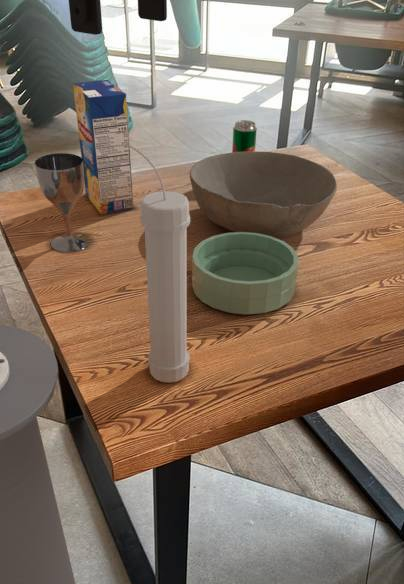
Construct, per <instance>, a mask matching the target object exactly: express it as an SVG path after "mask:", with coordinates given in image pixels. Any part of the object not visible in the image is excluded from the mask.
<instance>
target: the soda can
mask: <svg viewBox="0 0 404 584" xmlns="http://www.w3.org/2000/svg"><path fill="white" fill-rule="evenodd" d="M232 129H233V130H232V145H231V146H232V147H231V149H232V151H231V153H233V152H248V151H256V143H257V132H258V131H257V127H256V122H254V121H252V120H245V119H244V120H243V119H242V120H241V119H240V120H238V121H235V123H234V126H233V128H232Z"/></svg>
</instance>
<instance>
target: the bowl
mask: <svg viewBox="0 0 404 584" xmlns="http://www.w3.org/2000/svg"><path fill="white" fill-rule="evenodd" d="M189 181H190V185H191V189H192V192H193V195H194V198H195V200H196V203H197V206H198V207H199V209H200V210H201V212H202V213H203V215H204V216H205V217H206V218H207V219H208V220H210V222H213V223H214V224H215V225H217V226H219V227H221V228H224V229H225V230H228V231H231V232H250V233H259V234H263V235H268V236H272V237H274V238H283V237H287V236H291V235H295V234H298V233H300V232H302V231H304V230H305V229H307V228H308V227H310V226H311V225H313V224H314V223H315V222H316V221H317V220H318V219H319V218H320V217H321V216H322V215H323V213H324V212H325V211H326V210H327V208H328V206H329V205H330V204H331V202H332V200H333V199H334V196H335V195H336V193H337V190H338V183H337V179H336V177H335V176H334V174H333V173H332V172H331V170H329V168H326V167H324V166H323V165H321V164H319V163H317V162H314V161H312V160H310V159H306V158H304V157H300V156H297V155H293V154H288V153H282V152H273V151H256V150H255V151H248V152H233V153H232V152H226V153H219V154H215V155H211V156H210V155H209V156H208V157H205V158H202V159H200V160H198V161H197V162H195V163H194V164H193V165H192V166H191V168H190V171H189Z"/></svg>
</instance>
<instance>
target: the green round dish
mask: <svg viewBox="0 0 404 584" xmlns="http://www.w3.org/2000/svg"><path fill="white" fill-rule="evenodd" d="M192 251H193V252H192V254H191V287H192V290H193V292H194V293H193V294H194V295H195V296H196V297H197V298H198V299H199V300H200V301H201V302H202V303H204V304H206V305H207V306H209V307H211V308H213V309H215V310H218V311H222V312H225V313H226V312H227V313H230V314H238V315H256V314H257V315H258V314H265V313H269V312H272V311H275V310H279V309H280V308H282V307H283V306H285V305H287V304H289V302H290V301H291V300H292V298H293V297H294V295H295V291H296V284H297V277H298V271H299V255H298V253H297V252H296V250H295V249H294V248H293V247H292V246H291V245H289V244H288V243H287V242H286V241H284V240H282V239H280V238H278V237H272V236H268V235H263V234H259V233H250V232H234V231H231V232H224V233H220V234H216V235H212V236H210V237H208V238H205V239H203V240H201V241H200V242H199V243H198V244H197V245H196V246H195V247H194V248H193V250H192Z"/></svg>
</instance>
